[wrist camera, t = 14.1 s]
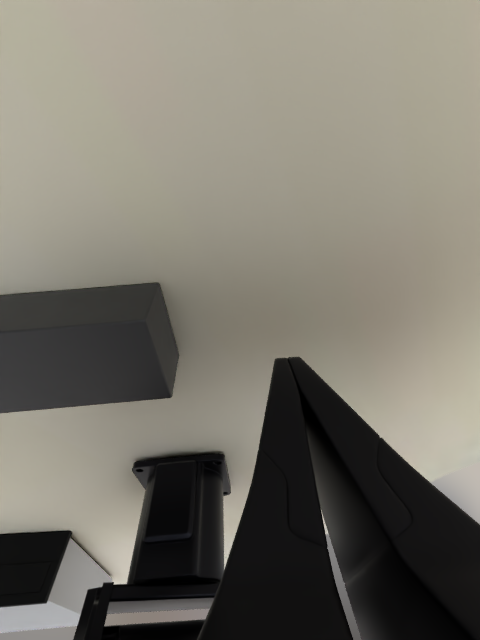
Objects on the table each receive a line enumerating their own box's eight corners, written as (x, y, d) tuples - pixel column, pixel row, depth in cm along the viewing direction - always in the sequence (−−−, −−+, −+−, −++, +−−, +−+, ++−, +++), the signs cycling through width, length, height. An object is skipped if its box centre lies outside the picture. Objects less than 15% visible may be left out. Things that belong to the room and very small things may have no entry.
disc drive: (69, 530, 26) (43, 603, 22) (114, 576, 39) (102, 626, 35) (-130, 540, 24) (-199, 622, 20) (-12, 585, 37) (-39, 639, 34)
